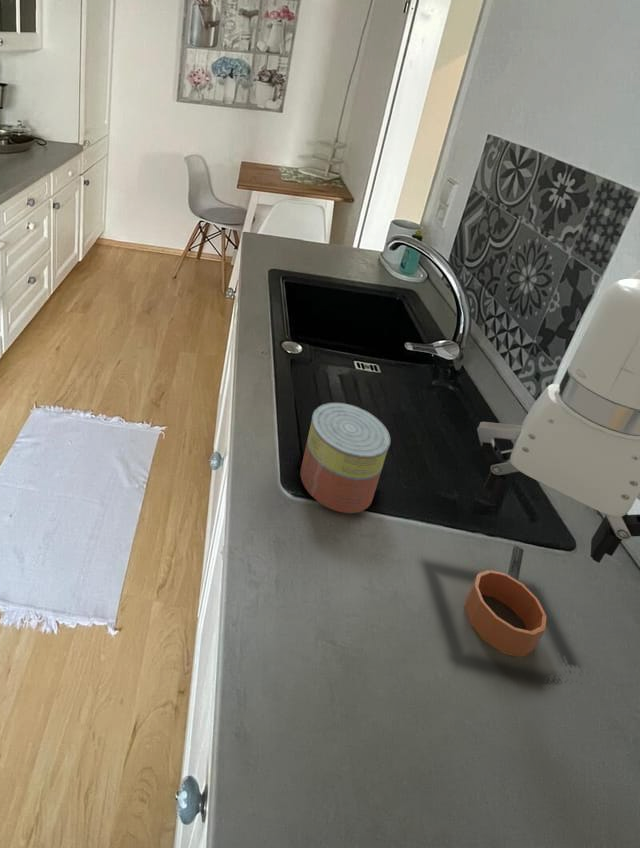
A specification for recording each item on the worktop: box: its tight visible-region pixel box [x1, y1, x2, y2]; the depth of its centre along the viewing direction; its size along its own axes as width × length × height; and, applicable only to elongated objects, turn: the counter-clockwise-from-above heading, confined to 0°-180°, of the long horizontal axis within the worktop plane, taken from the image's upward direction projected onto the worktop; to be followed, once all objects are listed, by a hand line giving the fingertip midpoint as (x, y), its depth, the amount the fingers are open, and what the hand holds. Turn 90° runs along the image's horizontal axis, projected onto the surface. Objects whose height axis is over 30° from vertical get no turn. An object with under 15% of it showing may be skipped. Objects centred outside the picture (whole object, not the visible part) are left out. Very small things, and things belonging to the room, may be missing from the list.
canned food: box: [299, 402, 392, 514], centre depth 78 cm, size 11×11×12 cm
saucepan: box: [463, 545, 548, 658], centre depth 63 cm, size 13×7×5 cm, turn 139°
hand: (540, 522), depth 56 cm, fingers open, 9 cm apart
